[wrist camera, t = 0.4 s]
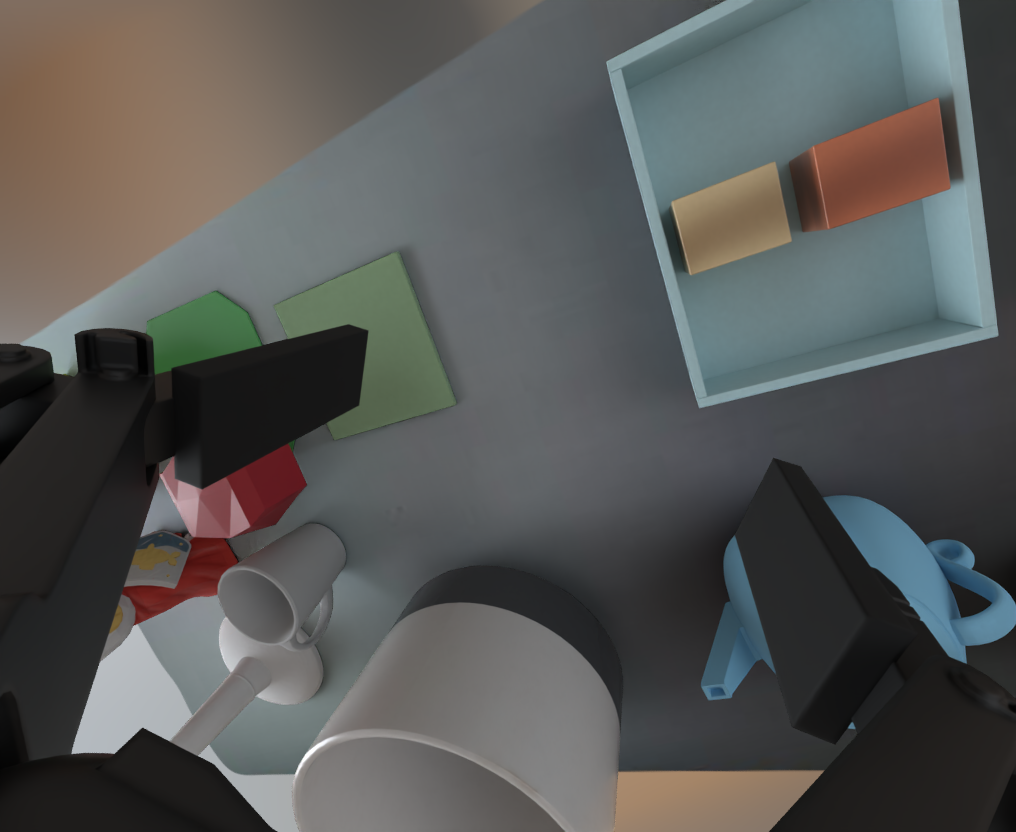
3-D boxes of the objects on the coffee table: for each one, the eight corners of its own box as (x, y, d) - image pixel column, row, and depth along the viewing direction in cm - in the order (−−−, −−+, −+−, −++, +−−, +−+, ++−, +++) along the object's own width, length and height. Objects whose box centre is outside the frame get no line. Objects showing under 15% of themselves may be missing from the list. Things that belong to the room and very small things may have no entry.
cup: (335, 505, 45) (268, 559, 37) (379, 597, 47) (325, 666, 39) (274, 521, 47) (200, 574, 40) (318, 606, 49) (257, 673, 42)
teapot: (667, 592, 38) (674, 718, 28) (743, 440, 33) (787, 526, 23) (870, 672, 36) (960, 842, 26) (986, 522, 31) (1157, 659, 20)
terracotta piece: (788, 161, 27) (812, 146, 23) (893, 121, 26) (939, 96, 22) (802, 233, 28) (828, 229, 24) (904, 198, 26) (951, 188, 22)
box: (612, 88, 29) (605, 60, 25) (894, -50, 24) (945, -113, 20) (693, 389, 33) (699, 408, 29) (948, 323, 28) (999, 336, 24)
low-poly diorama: (230, 519, 49) (146, 573, 41) (134, 327, 44) (17, 345, 36) (349, 493, 44) (280, 549, 36) (254, 274, 39) (150, 280, 31)
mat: (277, 304, 40) (273, 305, 39) (399, 251, 36) (396, 251, 35) (337, 438, 42) (333, 440, 42) (457, 403, 38) (455, 405, 38)
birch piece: (668, 208, 30) (671, 201, 26) (757, 173, 28) (775, 160, 24) (684, 272, 30) (690, 276, 26) (772, 243, 29) (792, 241, 25)
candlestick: (204, 622, 55) (-235, 989, 28) (276, 590, 50) (-170, 996, 23) (269, 709, 57) (-83, 1133, 30) (344, 686, 52) (7, 1168, 25)
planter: (445, 715, 49) (346, 941, 33) (392, 549, 44) (245, 719, 28) (641, 728, 43) (636, 1013, 27) (604, 537, 38) (570, 747, 22)
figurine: (215, 498, 48) (44, 595, 35) (253, 596, 52) (109, 720, 38) (123, 504, 53) (-63, 593, 39) (163, 594, 56) (4, 706, 42)
